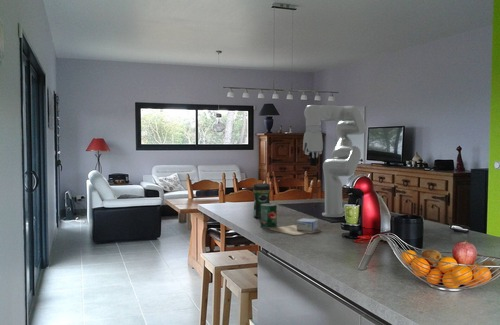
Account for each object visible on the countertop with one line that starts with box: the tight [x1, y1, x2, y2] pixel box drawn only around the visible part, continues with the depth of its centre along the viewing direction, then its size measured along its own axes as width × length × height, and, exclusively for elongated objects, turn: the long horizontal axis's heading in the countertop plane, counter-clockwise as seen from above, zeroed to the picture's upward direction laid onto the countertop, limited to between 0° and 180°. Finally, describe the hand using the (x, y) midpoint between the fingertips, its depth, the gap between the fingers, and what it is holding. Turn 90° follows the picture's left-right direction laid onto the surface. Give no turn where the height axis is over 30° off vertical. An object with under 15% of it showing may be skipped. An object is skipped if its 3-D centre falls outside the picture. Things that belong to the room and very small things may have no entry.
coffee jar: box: [252, 182, 271, 219], centre depth 251 cm, size 10×8×19 cm
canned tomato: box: [260, 202, 278, 229], centre depth 223 cm, size 8×8×11 cm
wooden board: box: [269, 224, 321, 237], centre depth 213 cm, size 16×18×1 cm
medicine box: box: [296, 217, 319, 231], centre depth 213 cm, size 8×4×9 cm
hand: (313, 165), depth 232 cm, fingers closed
